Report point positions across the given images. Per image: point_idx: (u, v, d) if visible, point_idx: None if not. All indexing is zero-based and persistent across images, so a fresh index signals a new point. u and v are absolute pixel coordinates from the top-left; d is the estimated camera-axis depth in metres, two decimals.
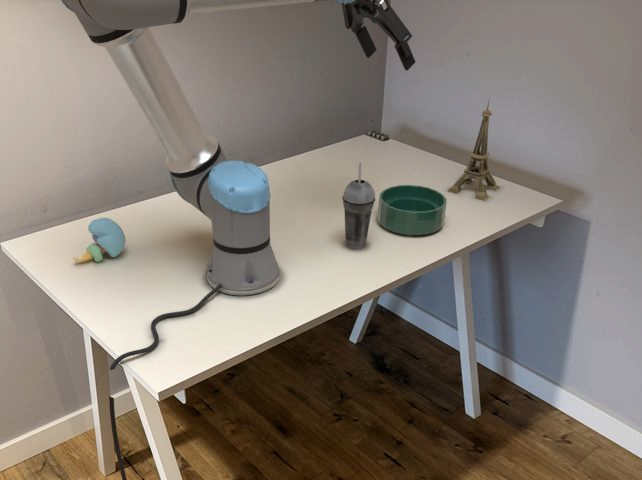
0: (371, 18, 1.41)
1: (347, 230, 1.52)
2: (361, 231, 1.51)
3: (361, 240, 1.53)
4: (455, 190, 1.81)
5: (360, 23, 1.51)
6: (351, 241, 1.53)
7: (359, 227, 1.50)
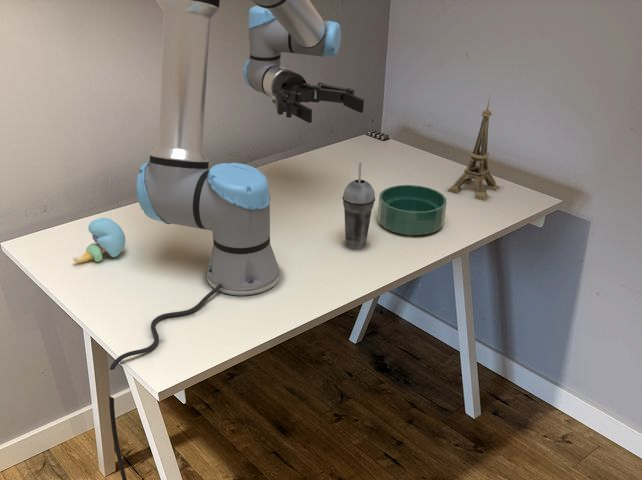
0: (315, 86, 1.55)
1: (347, 230, 1.52)
2: (361, 231, 1.51)
3: (361, 240, 1.53)
4: (455, 190, 1.81)
5: None
6: (351, 241, 1.53)
7: (359, 227, 1.50)
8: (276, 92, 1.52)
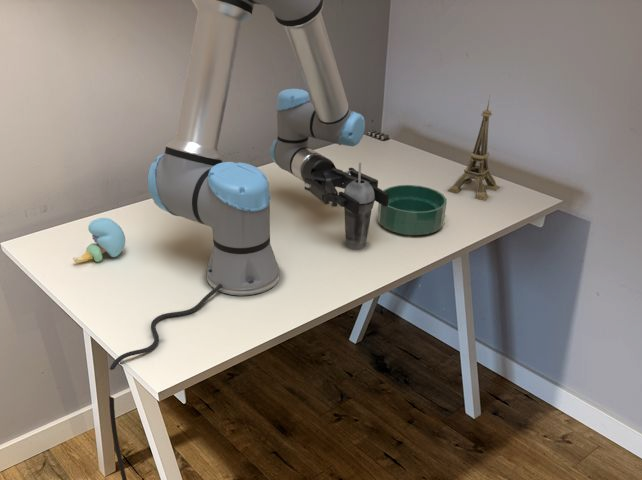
0: (343, 172, 1.55)
1: (347, 230, 1.52)
2: (361, 231, 1.51)
3: (361, 240, 1.53)
4: (455, 190, 1.81)
5: None
6: (351, 241, 1.53)
7: (359, 227, 1.50)
8: (310, 180, 1.52)
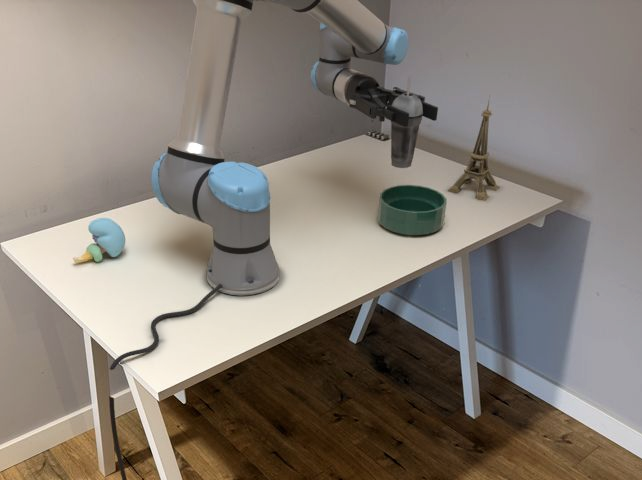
0: (389, 90, 1.52)
1: (394, 147, 1.49)
2: (408, 147, 1.48)
3: (408, 158, 1.50)
4: (455, 190, 1.81)
5: None
6: (397, 159, 1.50)
7: (406, 143, 1.48)
8: (356, 96, 1.50)
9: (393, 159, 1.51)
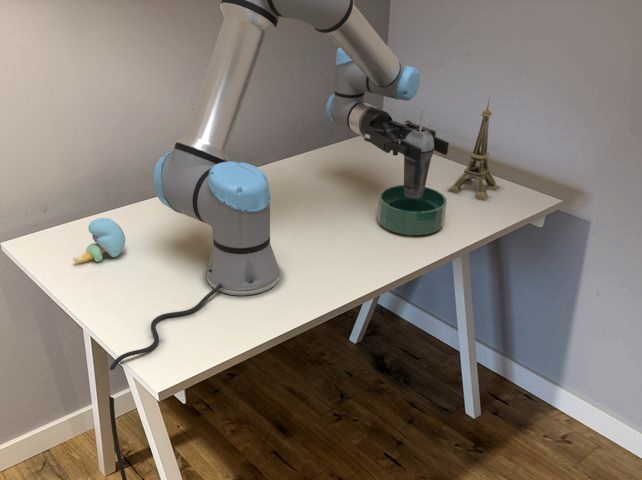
0: (402, 124, 1.60)
1: (406, 179, 1.58)
2: (420, 179, 1.56)
3: (420, 189, 1.58)
4: (455, 190, 1.81)
5: None
6: (410, 190, 1.58)
7: (418, 175, 1.56)
8: (371, 131, 1.58)
9: (406, 190, 1.59)
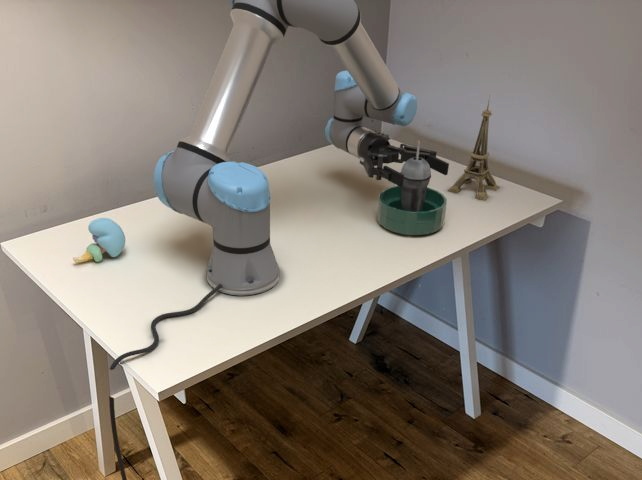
0: (400, 148, 1.65)
1: (403, 205, 1.61)
2: (417, 206, 1.60)
3: None
4: (455, 190, 1.81)
5: None
6: None
7: (415, 202, 1.60)
8: (364, 155, 1.62)
9: None
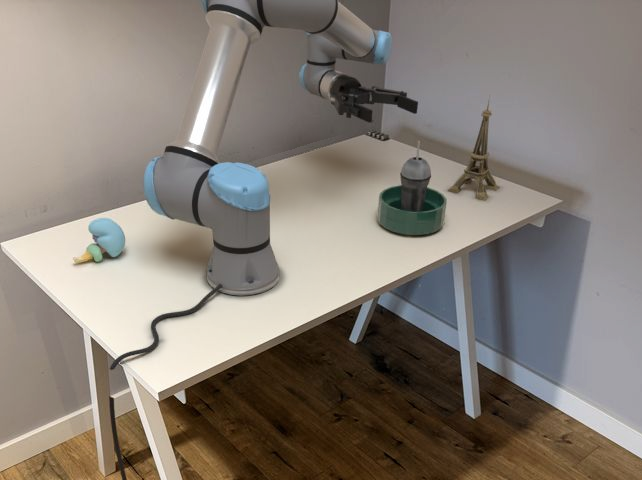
0: (371, 89, 1.67)
1: (403, 205, 1.61)
2: (417, 206, 1.60)
3: None
4: (455, 190, 1.81)
5: None
6: None
7: (415, 202, 1.60)
8: (335, 94, 1.64)
9: None
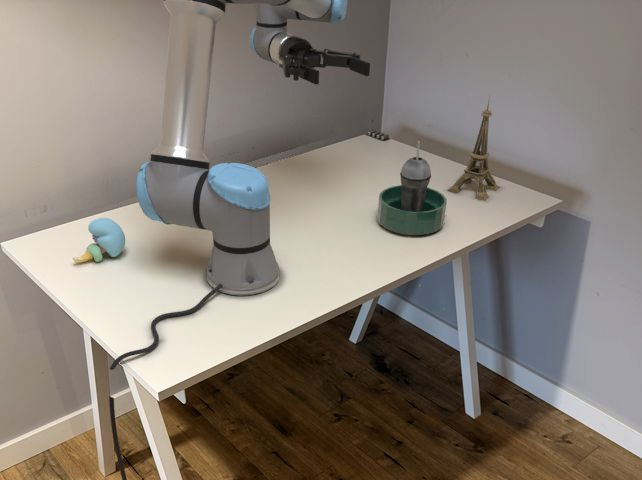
0: (322, 51, 1.57)
1: (403, 205, 1.61)
2: (417, 206, 1.60)
3: None
4: (455, 190, 1.81)
5: None
6: None
7: (415, 202, 1.60)
8: (283, 56, 1.54)
9: None
